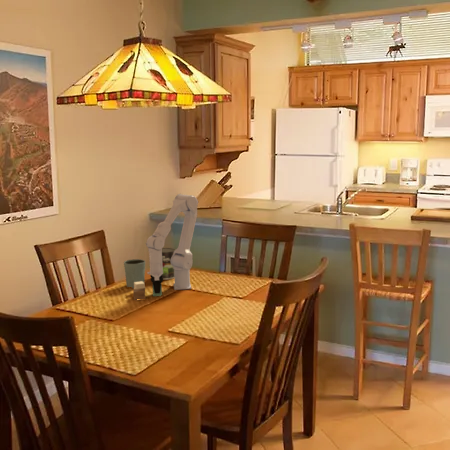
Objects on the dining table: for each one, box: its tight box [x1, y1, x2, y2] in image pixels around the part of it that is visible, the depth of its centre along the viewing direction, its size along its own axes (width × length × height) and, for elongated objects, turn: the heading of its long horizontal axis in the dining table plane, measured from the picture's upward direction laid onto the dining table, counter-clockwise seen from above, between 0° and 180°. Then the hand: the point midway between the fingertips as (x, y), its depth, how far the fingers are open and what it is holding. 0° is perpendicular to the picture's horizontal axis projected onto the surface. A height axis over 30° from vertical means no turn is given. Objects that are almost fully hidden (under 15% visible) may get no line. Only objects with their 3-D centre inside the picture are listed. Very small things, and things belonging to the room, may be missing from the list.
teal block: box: [152, 284, 163, 297], centre depth 250 cm, size 4×4×5 cm
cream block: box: [133, 281, 146, 290], centre depth 253 cm, size 4×4×5 cm
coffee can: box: [162, 247, 176, 281], centre depth 278 cm, size 10×10×14 cm
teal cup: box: [123, 258, 146, 289], centre depth 265 cm, size 10×10×12 cm
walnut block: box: [132, 287, 146, 301], centre depth 245 cm, size 5×5×4 cm
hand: (157, 291), depth 250 cm, fingers closed on teal block, 4 cm apart
